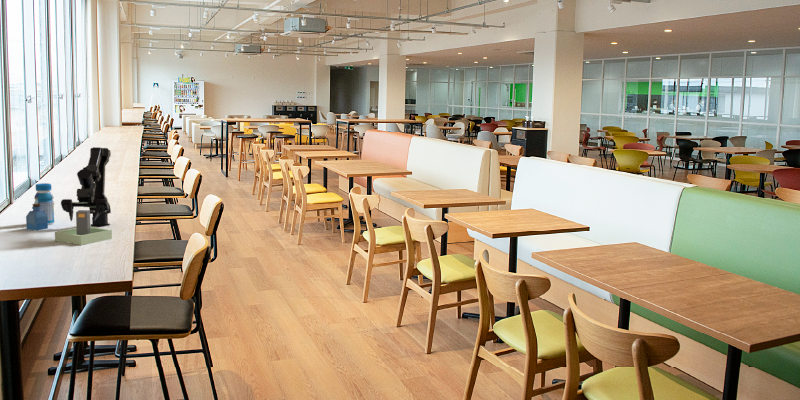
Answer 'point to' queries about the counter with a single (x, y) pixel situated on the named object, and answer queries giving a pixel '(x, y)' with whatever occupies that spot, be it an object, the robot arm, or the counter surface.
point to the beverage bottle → (45, 200)
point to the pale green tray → (83, 236)
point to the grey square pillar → (83, 222)
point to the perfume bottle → (36, 218)
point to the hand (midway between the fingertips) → (82, 220)
